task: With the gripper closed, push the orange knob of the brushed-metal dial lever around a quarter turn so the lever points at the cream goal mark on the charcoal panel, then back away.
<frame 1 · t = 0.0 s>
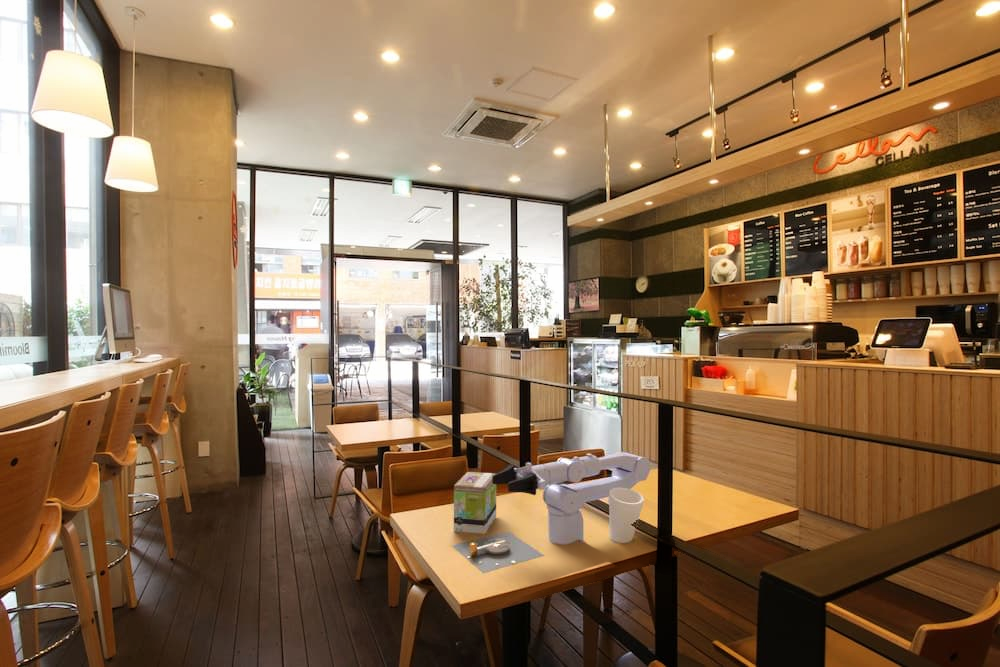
hand: (500, 483, 133), 20 cm above the table, tool horizontal, fingers open, 7 cm apart
panel: (497, 554, 137), on the table
dial: (489, 545, 135), point 3 cm above the table, hinge at 0.0°
tea box: (475, 527, 156), on the table
foam cup: (620, 538, 146), on the table, touching arm
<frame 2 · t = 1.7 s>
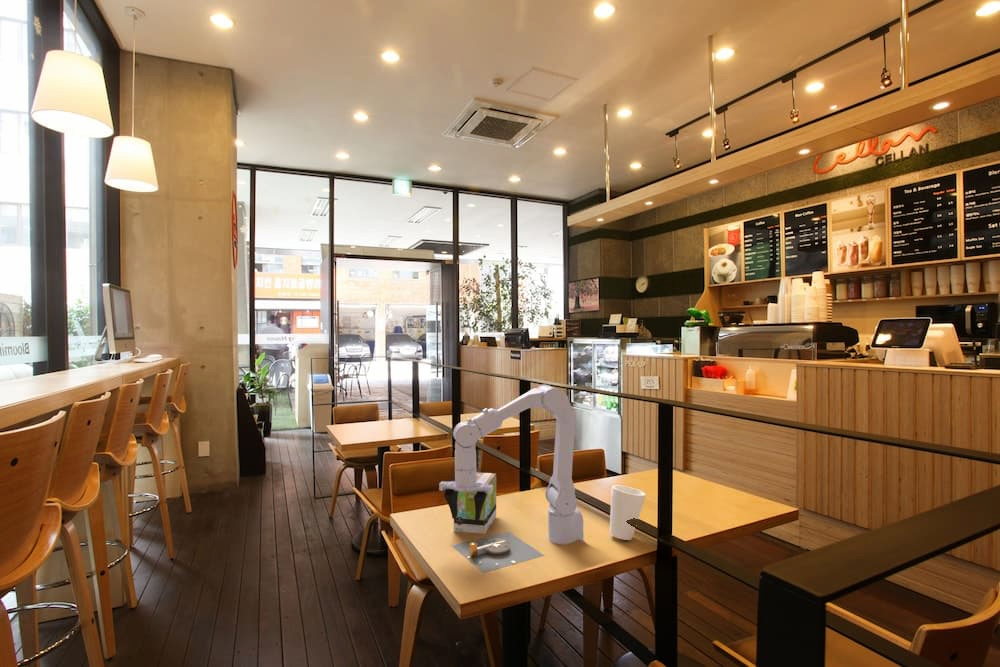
hand: (466, 518, 137), 9 cm above the table, tool pointing down, fingers open, 6 cm apart
foam cup: (620, 536, 146), on the table
everything else where it was.
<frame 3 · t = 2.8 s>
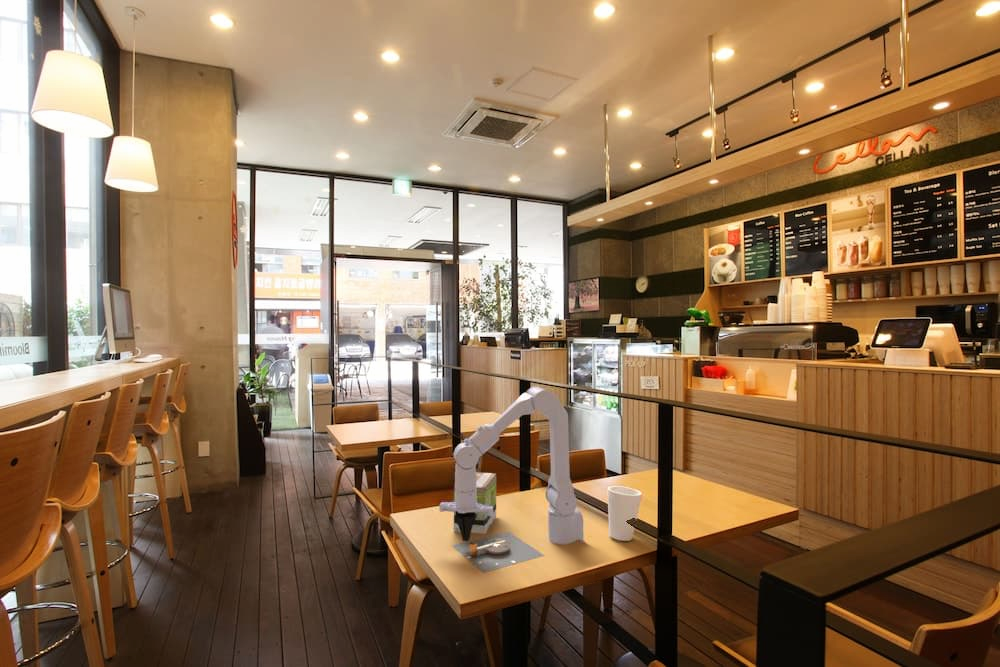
hand: (466, 539, 138), 4 cm above the table, tool pointing down, fingers closed
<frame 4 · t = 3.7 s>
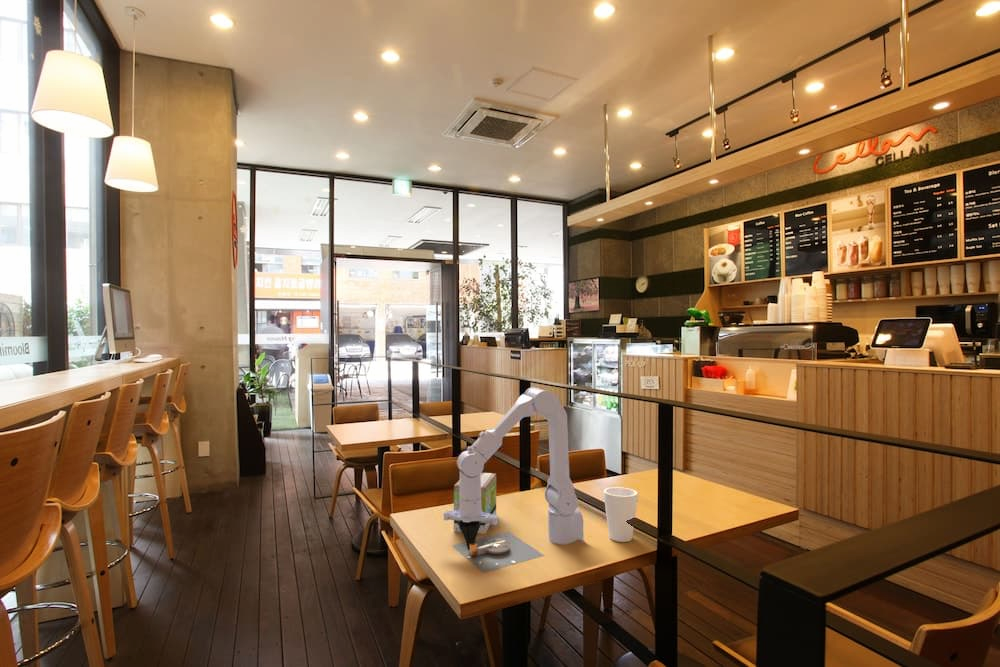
hand: (471, 548, 136), 2 cm above the table, tool pointing down, fingers closed, pressing on dial
dial: (489, 545, 135), point 3 cm above the table, hinge at 0.0°, touching gripper
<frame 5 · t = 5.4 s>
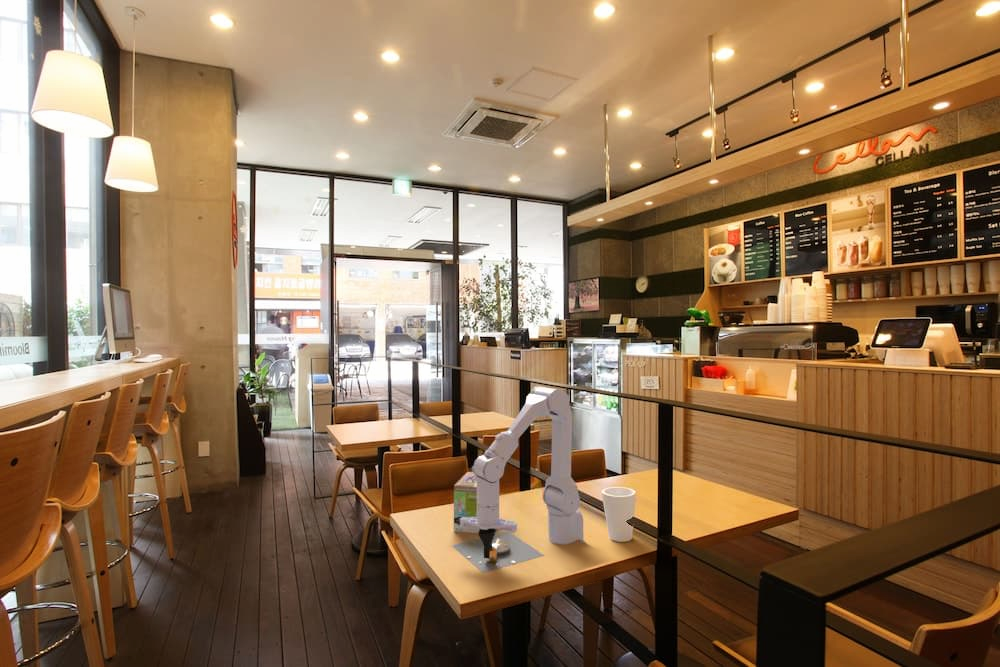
hand: (488, 556, 131), 2 cm above the table, tool pointing down, fingers closed, pressing on dial
dial: (495, 547, 134), point 3 cm above the table, hinge at 52.2°, touching gripper
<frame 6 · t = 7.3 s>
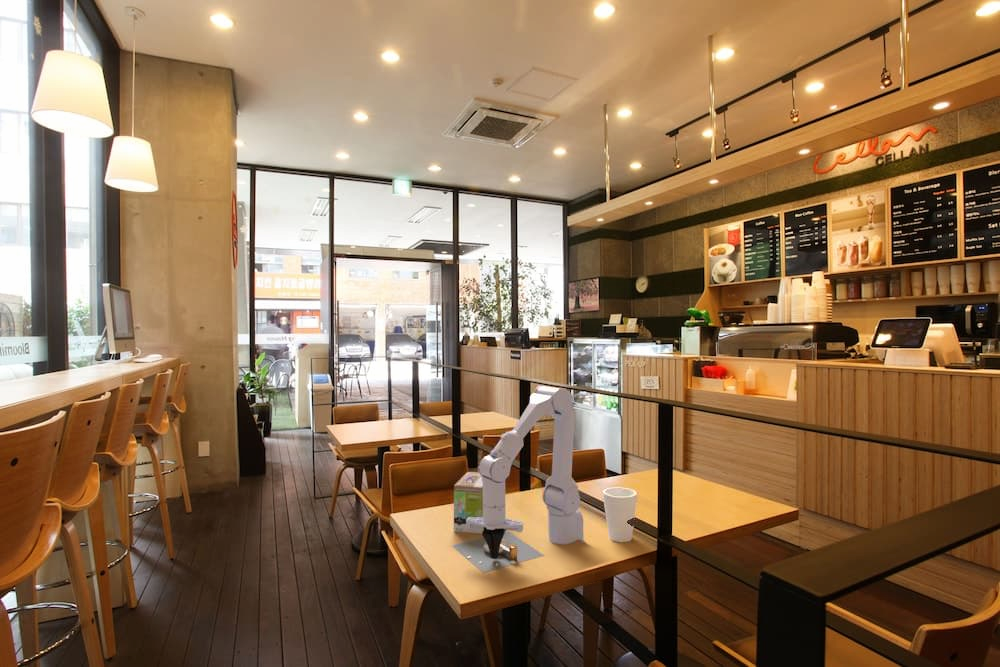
hand: (494, 556, 130), 2 cm above the table, tool pointing down, fingers closed
dial: (502, 546, 135), point 3 cm above the table, hinge at 96.8°
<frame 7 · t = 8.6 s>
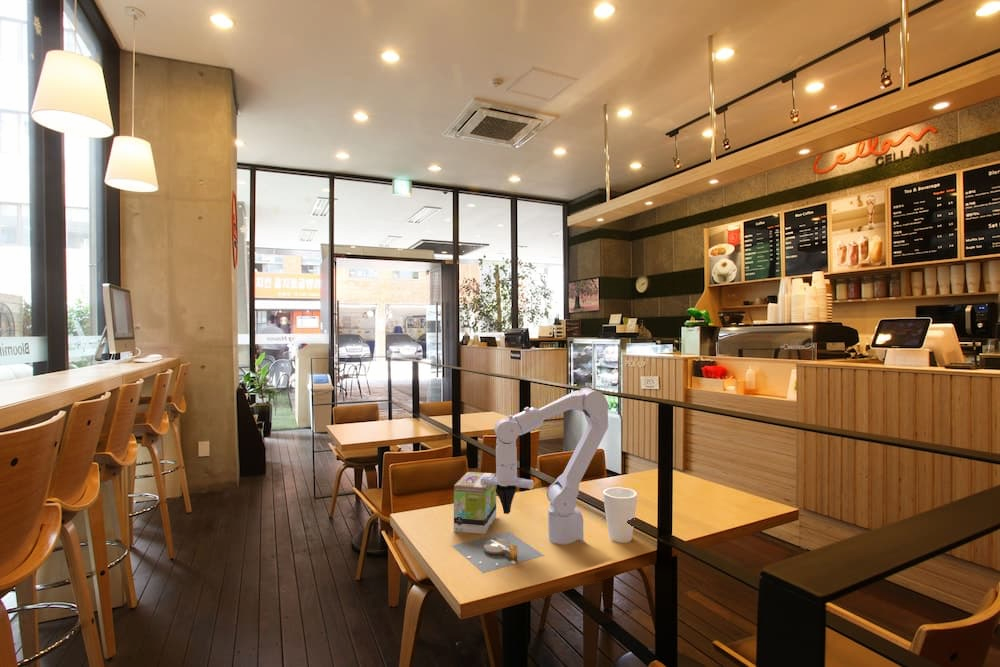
hand: (507, 512, 141), 9 cm above the table, tool pointing down, fingers closed
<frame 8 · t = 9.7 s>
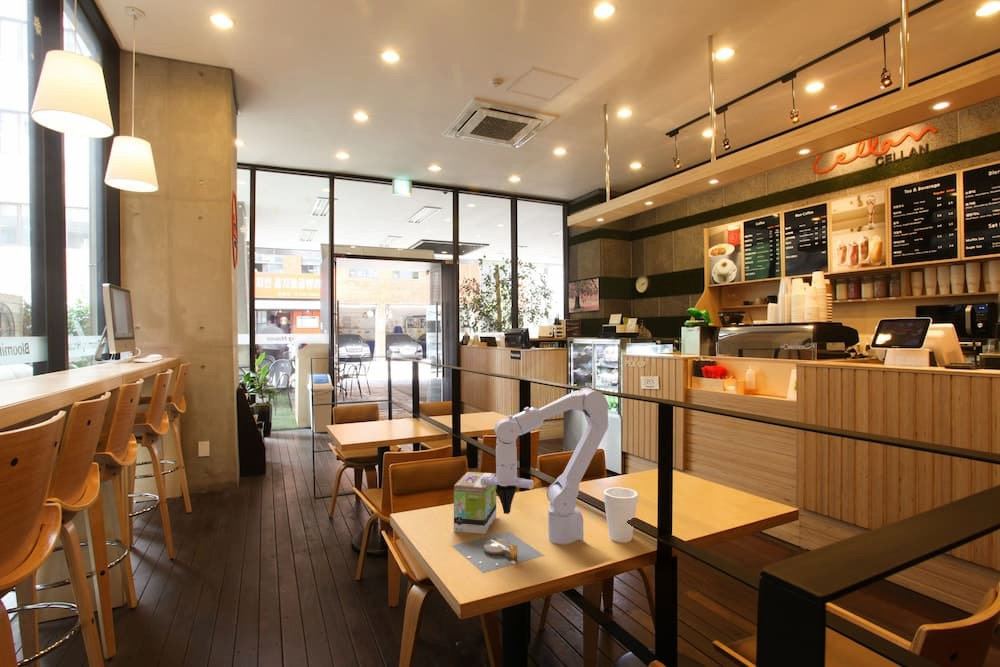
hand: (507, 512, 141), 9 cm above the table, tool pointing down, fingers closed
at the end: dial at +97° (first picture: +0°); dial touching nothing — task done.
